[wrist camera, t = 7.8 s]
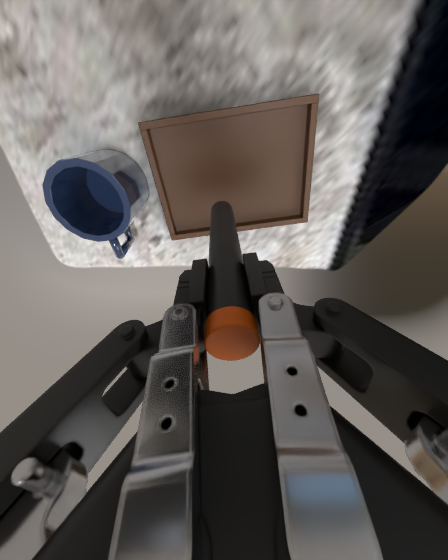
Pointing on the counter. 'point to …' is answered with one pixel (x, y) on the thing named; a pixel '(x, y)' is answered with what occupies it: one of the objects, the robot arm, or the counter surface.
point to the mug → (97, 196)
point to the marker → (228, 292)
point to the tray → (234, 164)
